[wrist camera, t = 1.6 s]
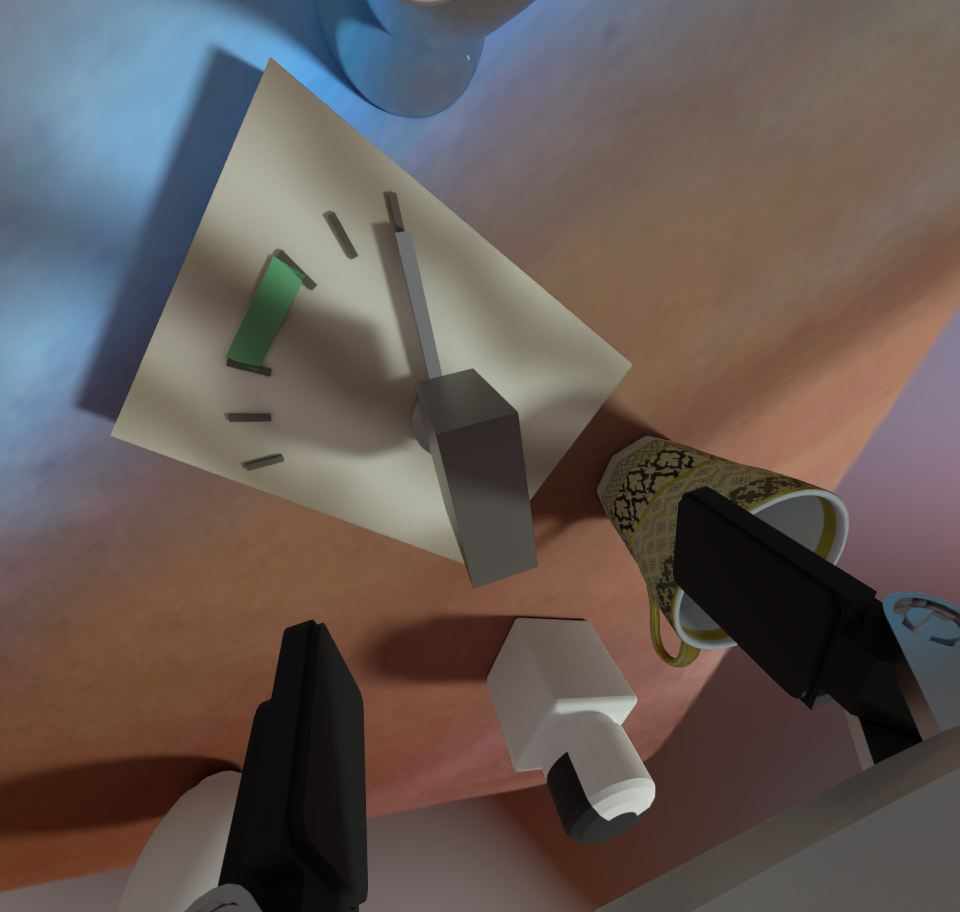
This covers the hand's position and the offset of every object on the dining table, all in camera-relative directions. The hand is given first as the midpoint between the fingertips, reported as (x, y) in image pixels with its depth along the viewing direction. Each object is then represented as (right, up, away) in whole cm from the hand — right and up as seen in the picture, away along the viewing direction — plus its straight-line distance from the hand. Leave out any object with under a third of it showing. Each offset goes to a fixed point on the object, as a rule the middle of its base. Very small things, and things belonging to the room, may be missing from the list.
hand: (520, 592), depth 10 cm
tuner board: (-5, +7, +11) cm, 14 cm away
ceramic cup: (+10, +1, +19) cm, 21 cm away
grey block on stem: (-3, +8, +8) cm, 12 cm away
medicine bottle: (+4, -13, +24) cm, 27 cm away
